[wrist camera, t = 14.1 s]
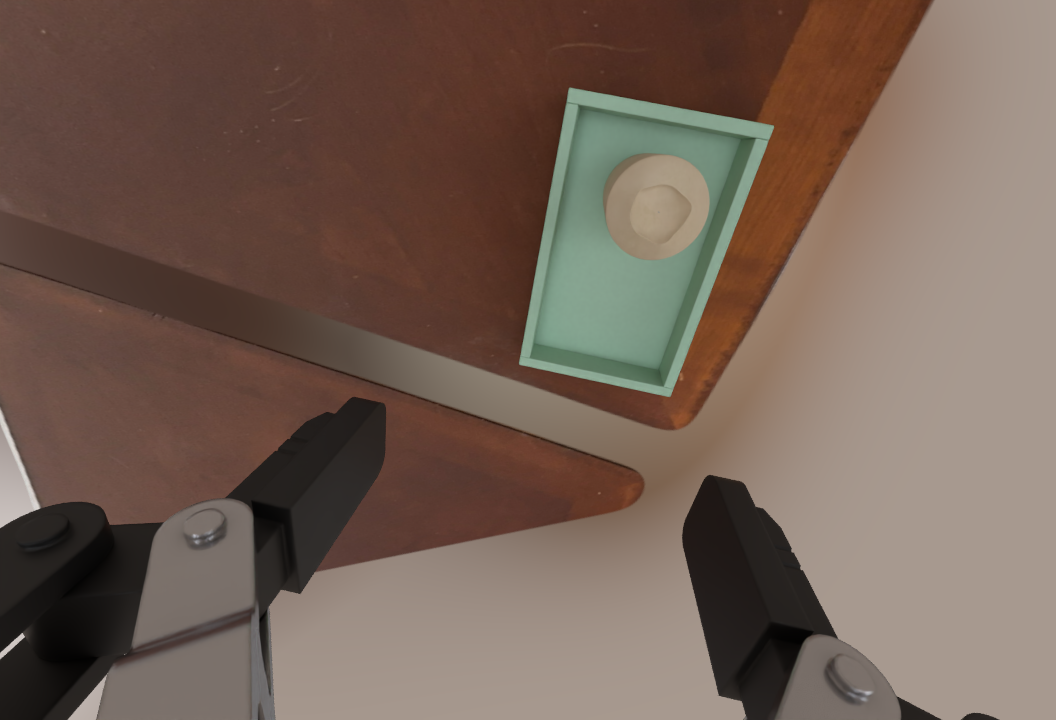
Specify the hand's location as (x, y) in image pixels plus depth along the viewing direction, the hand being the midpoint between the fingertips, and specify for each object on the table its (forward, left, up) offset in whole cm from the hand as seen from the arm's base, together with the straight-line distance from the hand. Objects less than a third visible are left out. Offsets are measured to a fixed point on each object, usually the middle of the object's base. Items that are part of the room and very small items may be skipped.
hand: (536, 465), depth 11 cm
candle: (-5, +4, -26) cm, 27 cm away
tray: (0, +4, -26) cm, 26 cm away
